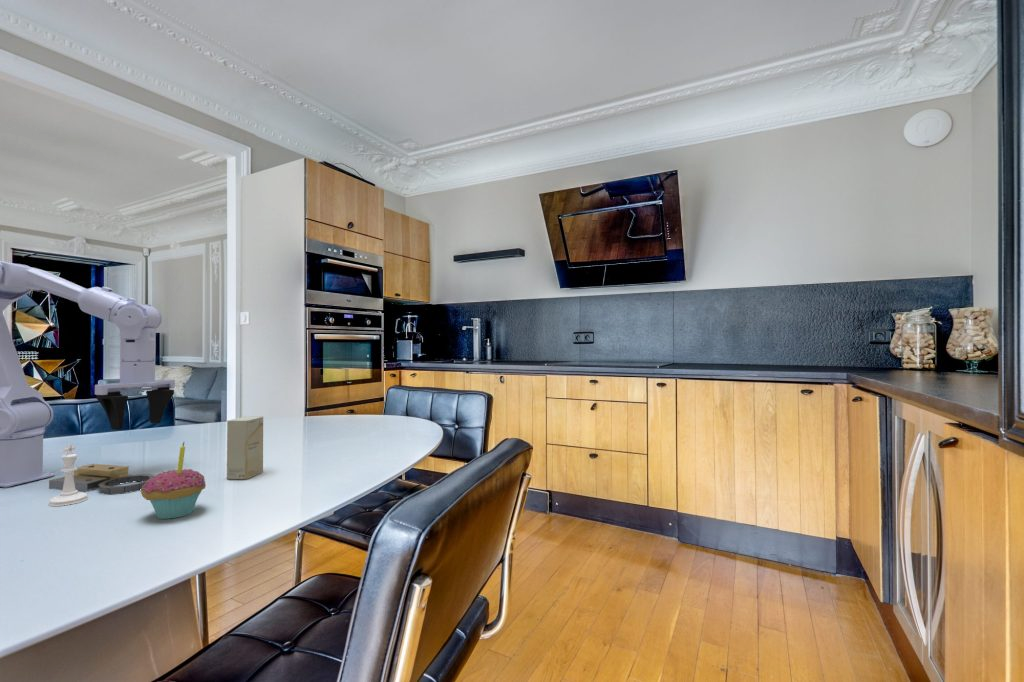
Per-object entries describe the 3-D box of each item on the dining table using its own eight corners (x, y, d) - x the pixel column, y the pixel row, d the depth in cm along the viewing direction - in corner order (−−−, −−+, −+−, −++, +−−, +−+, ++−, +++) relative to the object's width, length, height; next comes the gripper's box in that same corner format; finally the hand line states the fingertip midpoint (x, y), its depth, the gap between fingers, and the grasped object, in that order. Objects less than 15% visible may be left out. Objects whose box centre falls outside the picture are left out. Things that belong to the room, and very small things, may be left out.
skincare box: (246, 480, 93) (247, 420, 93) (225, 479, 93) (225, 420, 93) (264, 471, 99) (264, 415, 99) (243, 471, 99) (244, 415, 99)
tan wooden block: (73, 480, 90) (73, 467, 90) (92, 475, 94) (93, 463, 94) (110, 483, 89) (110, 470, 89) (128, 478, 92) (128, 465, 92)
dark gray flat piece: (46, 488, 86) (46, 480, 86) (93, 476, 94) (94, 468, 94) (123, 495, 83) (123, 486, 83) (165, 482, 91) (165, 474, 91)
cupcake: (217, 508, 77) (218, 437, 77) (165, 527, 69) (166, 448, 69) (181, 502, 80) (182, 433, 80) (127, 519, 72) (128, 443, 72)
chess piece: (95, 497, 82) (96, 441, 82) (66, 507, 77) (67, 448, 77) (71, 496, 82) (71, 441, 82) (40, 505, 77) (41, 447, 77)
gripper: (114, 362, 87) (112, 433, 87) (185, 360, 101) (184, 421, 101) (87, 362, 89) (86, 431, 89) (161, 359, 103) (160, 419, 103)
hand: (136, 426), depth 95 cm, fingers open, 7 cm apart
